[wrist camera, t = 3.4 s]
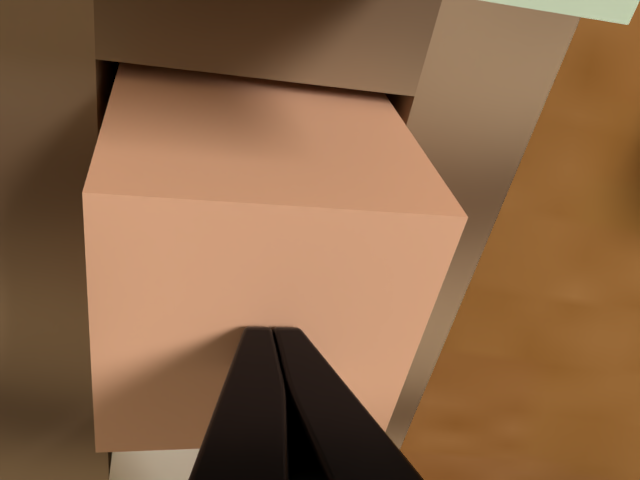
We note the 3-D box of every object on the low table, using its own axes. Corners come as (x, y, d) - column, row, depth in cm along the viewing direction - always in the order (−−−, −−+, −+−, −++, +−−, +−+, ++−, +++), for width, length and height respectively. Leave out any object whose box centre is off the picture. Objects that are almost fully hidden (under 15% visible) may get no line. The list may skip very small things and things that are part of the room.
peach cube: (331, 272, 15) (381, 441, 11) (123, 265, 14) (95, 452, 10) (377, 83, 12) (468, 216, 8) (122, 53, 11) (82, 192, 7)
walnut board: (354, 457, 22) (370, 520, 20) (31, 472, 19) (13, 546, 17) (713, -558, 8) (867, -668, 6) (-198, -992, 6) (-395, -1398, 4)
